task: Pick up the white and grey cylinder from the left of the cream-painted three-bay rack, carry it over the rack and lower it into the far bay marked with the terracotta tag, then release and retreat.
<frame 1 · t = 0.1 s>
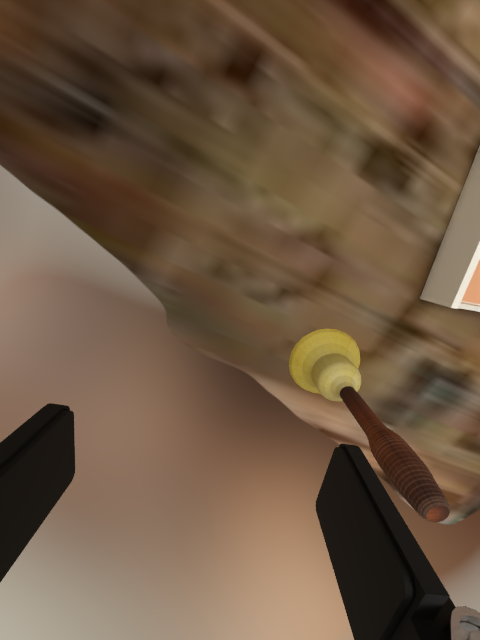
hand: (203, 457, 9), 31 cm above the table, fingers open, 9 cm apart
handbell: (324, 361, 42), on the table
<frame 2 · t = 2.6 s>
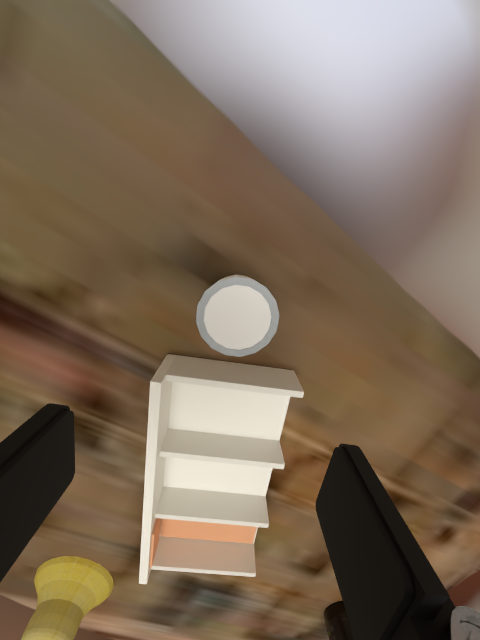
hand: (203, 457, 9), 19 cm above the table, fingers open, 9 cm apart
white and grey cylinder: (236, 300, 27), on the table
supplement bottle: (342, 610, 44), on the table
handbell: (75, 580, 40), on the table
rack: (216, 459, 33), on the table
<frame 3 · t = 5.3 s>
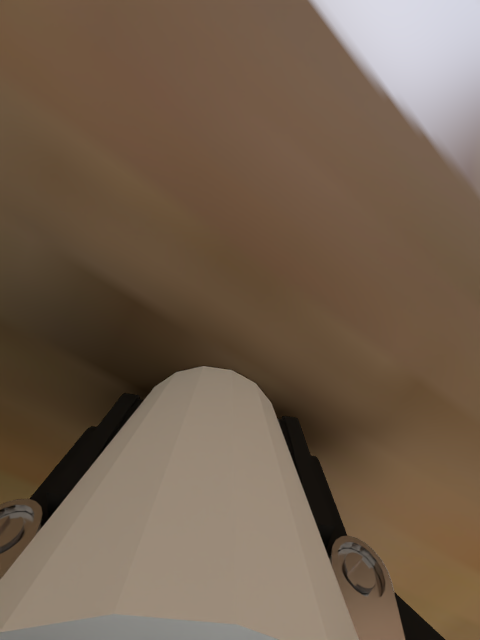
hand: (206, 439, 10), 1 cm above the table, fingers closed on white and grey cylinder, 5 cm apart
white and grey cylinder: (209, 423, 10), on the table, touching gripper
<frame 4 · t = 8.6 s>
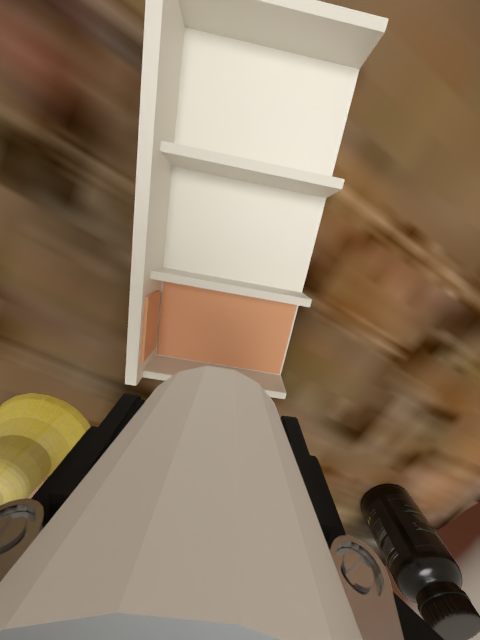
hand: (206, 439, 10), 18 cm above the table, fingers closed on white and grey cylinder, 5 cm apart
white and grey cylinder: (212, 423, 10), point 17 cm above the table, touching gripper
supplement bottle: (383, 499, 35), on the table
handbell: (45, 434, 31), on the table
rack: (236, 233, 24), on the table
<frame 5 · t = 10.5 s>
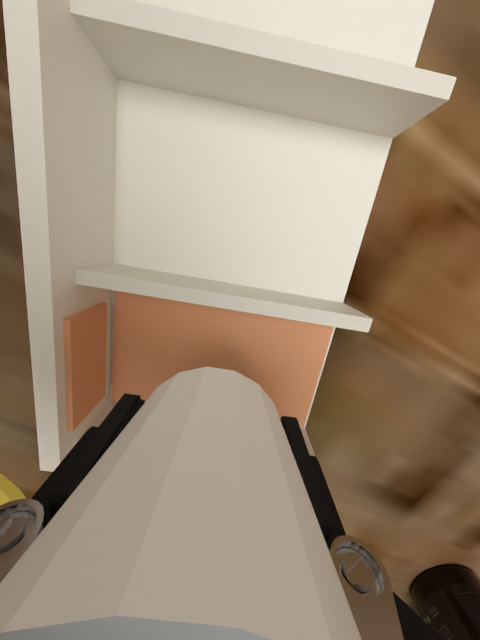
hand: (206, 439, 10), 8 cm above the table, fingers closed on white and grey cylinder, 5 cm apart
white and grey cylinder: (212, 424, 10), point 7 cm above the table, touching gripper
supplement bottle: (440, 582, 25), on the table
rack: (235, 205, 14), on the table
when the fingers open (3 cm above the table, at t = 12.0 s): white and grey cylinder stays where it is, resting on rack.
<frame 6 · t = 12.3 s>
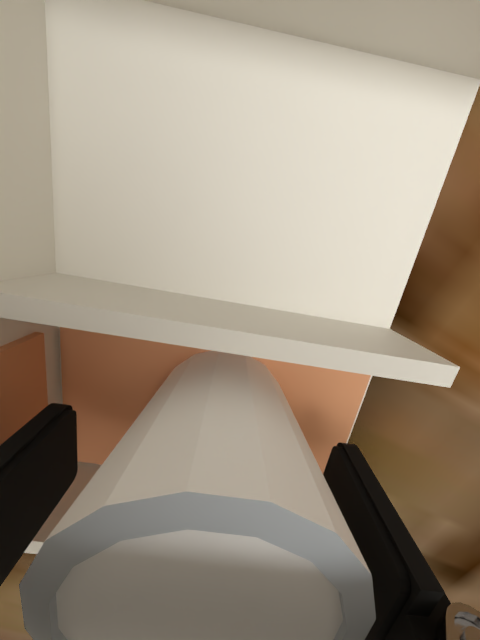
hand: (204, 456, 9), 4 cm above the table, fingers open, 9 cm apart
white and grey cylinder: (222, 402, 12), point 1 cm above the table, touching rack
rack: (235, 188, 10), on the table
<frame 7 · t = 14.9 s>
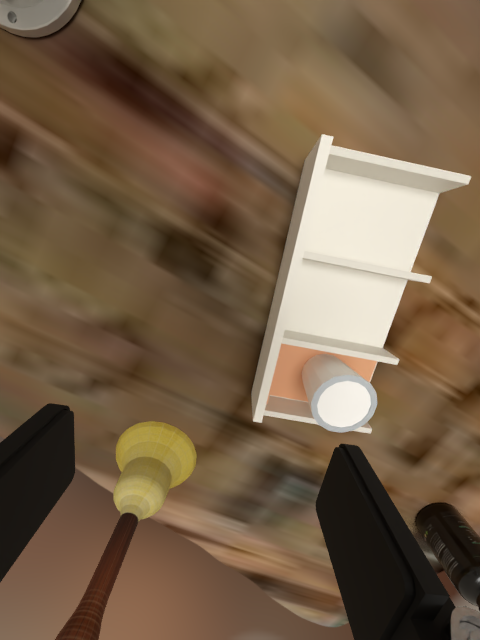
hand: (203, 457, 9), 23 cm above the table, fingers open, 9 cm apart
white and grey cylinder: (322, 372, 32), point 1 cm above the table, touching rack
supplement bottle: (434, 516, 40), on the table
handbell: (156, 454, 37), on the table
rack: (332, 302, 31), on the table
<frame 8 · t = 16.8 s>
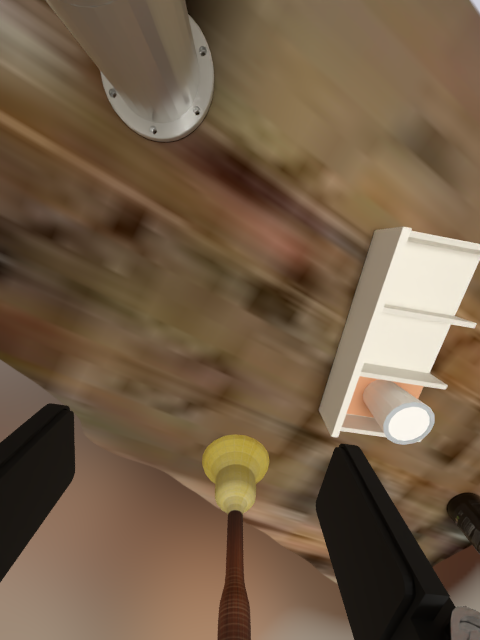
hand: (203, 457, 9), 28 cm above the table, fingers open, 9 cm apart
white and grey cylinder: (379, 393, 40), point 1 cm above the table, touching rack
supplement bottle: (462, 503, 48), on the table
handbell: (235, 461, 45), on the table
rack: (390, 337, 38), on the table
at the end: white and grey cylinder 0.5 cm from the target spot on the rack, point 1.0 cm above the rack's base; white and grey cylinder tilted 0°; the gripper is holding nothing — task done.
